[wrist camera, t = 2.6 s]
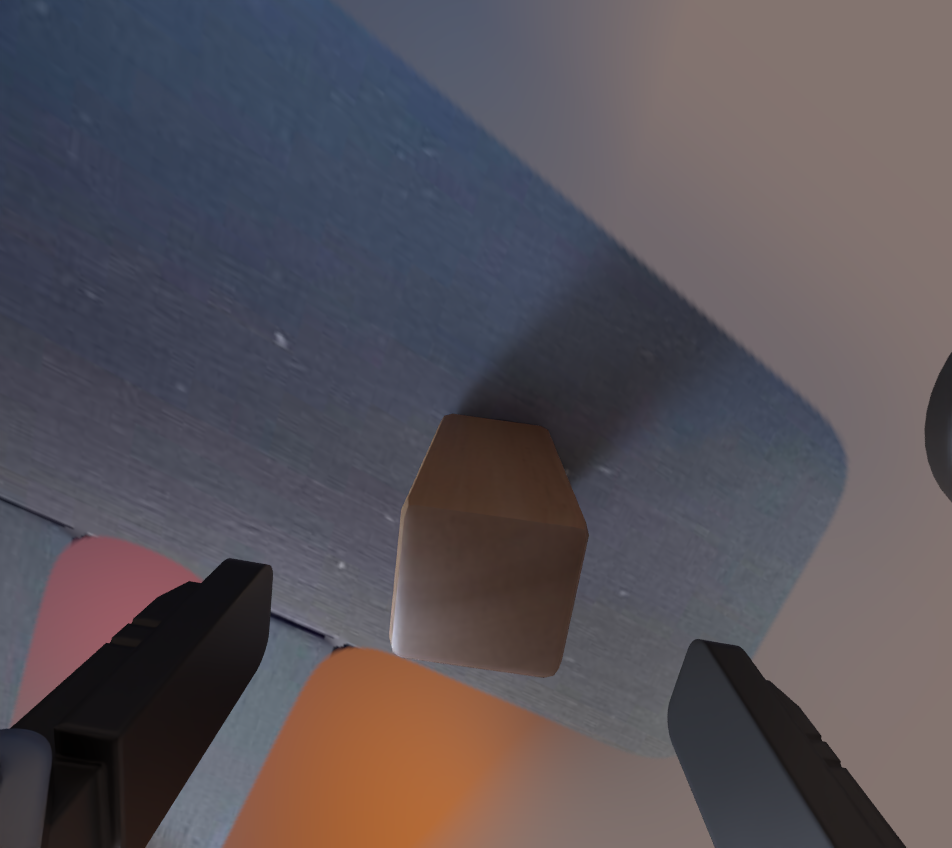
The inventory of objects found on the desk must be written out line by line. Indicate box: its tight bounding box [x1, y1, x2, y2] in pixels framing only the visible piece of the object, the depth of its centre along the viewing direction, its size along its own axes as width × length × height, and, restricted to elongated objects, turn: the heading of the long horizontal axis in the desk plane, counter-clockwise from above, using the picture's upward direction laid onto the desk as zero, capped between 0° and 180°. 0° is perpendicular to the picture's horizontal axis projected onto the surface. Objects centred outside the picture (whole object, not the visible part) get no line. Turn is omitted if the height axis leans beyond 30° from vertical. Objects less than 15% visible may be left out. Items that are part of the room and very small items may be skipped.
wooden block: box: [389, 414, 589, 678], centre depth 14 cm, size 4×4×8 cm
